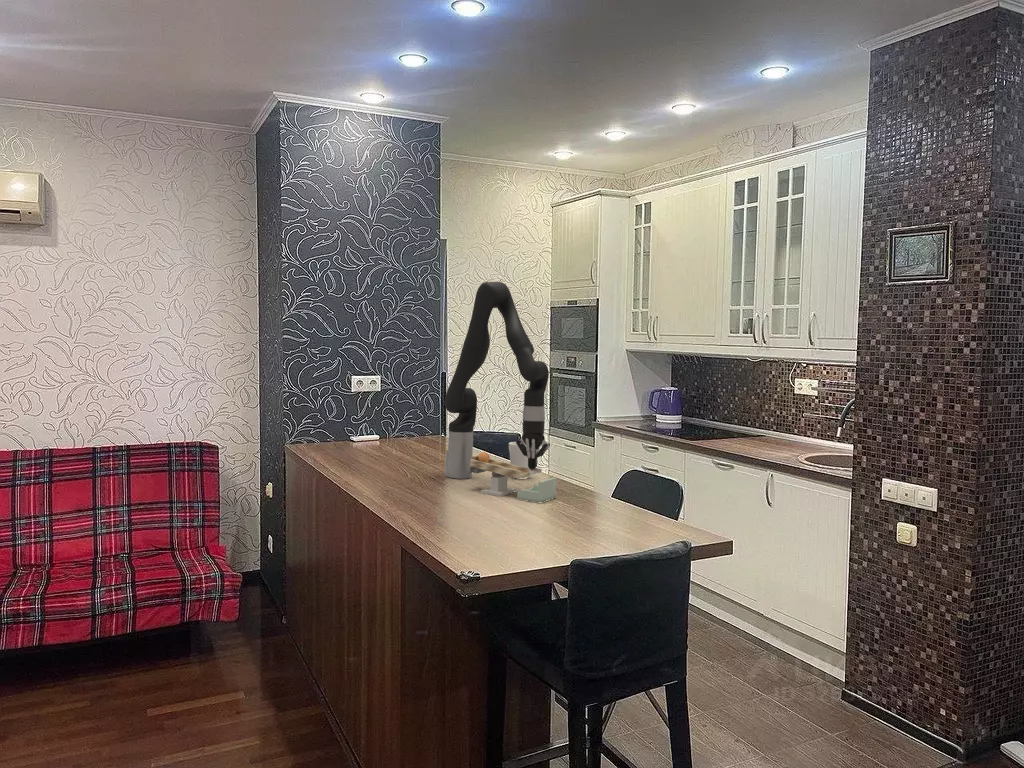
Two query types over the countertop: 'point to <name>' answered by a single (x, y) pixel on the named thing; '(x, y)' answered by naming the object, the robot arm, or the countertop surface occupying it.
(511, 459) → the foam cup
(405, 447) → the countertop surface
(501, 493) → the lever stand
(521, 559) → the countertop surface
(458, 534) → the countertop surface
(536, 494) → the bin
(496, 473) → the board
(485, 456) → the ball
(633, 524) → the countertop surface
